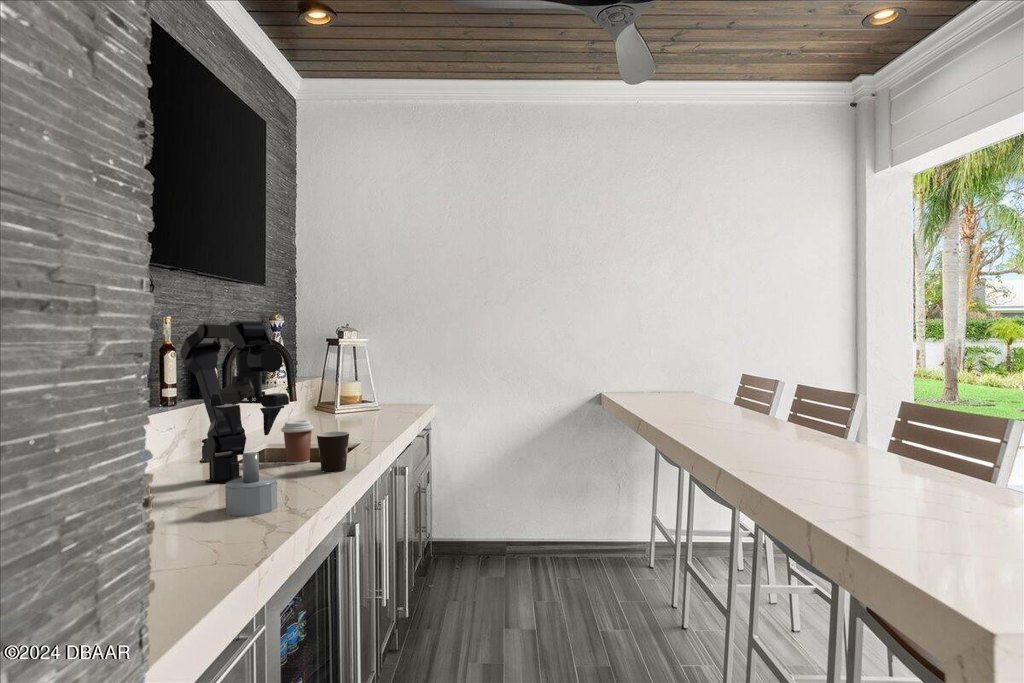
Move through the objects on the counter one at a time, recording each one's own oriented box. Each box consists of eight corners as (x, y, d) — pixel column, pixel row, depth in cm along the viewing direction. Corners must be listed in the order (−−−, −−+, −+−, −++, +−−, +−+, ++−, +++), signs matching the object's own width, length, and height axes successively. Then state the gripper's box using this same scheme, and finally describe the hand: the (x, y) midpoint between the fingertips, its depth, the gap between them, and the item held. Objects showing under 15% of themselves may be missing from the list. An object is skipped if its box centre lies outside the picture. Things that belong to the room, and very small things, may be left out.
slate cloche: (216, 511, 133) (215, 455, 132) (258, 500, 141) (257, 447, 141) (244, 518, 127) (242, 460, 127) (286, 506, 135) (285, 451, 135)
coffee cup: (315, 458, 189) (315, 419, 188) (312, 464, 180) (312, 423, 180) (284, 460, 187) (283, 420, 186) (279, 466, 178) (278, 424, 178)
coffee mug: (340, 474, 167) (340, 436, 167) (311, 473, 169) (310, 436, 168) (359, 464, 178) (359, 430, 178) (332, 464, 180) (331, 429, 180)
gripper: (192, 373, 148) (194, 439, 148) (260, 373, 143) (262, 441, 143) (225, 370, 159) (226, 431, 159) (289, 370, 154) (290, 433, 154)
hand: (250, 434), depth 153 cm, fingers open, 9 cm apart
